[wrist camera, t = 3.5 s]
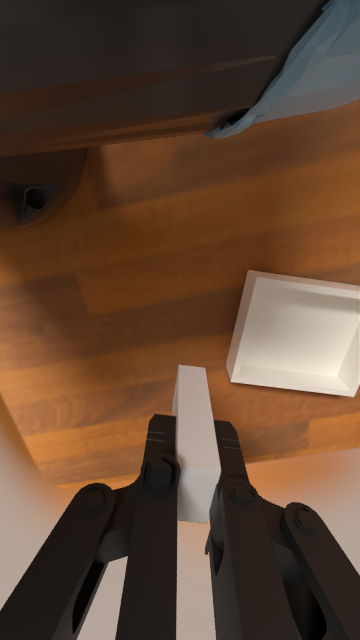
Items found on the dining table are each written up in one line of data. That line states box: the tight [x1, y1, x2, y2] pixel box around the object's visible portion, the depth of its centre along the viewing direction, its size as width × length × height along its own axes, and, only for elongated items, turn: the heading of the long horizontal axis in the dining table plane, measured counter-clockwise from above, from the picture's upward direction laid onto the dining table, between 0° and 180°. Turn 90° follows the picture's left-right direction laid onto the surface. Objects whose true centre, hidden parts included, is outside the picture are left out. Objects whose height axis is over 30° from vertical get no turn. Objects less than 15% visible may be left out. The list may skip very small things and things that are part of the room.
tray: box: [226, 270, 360, 397], centre depth 25 cm, size 12×10×3 cm
